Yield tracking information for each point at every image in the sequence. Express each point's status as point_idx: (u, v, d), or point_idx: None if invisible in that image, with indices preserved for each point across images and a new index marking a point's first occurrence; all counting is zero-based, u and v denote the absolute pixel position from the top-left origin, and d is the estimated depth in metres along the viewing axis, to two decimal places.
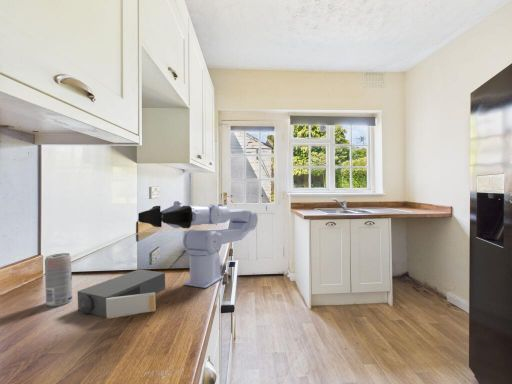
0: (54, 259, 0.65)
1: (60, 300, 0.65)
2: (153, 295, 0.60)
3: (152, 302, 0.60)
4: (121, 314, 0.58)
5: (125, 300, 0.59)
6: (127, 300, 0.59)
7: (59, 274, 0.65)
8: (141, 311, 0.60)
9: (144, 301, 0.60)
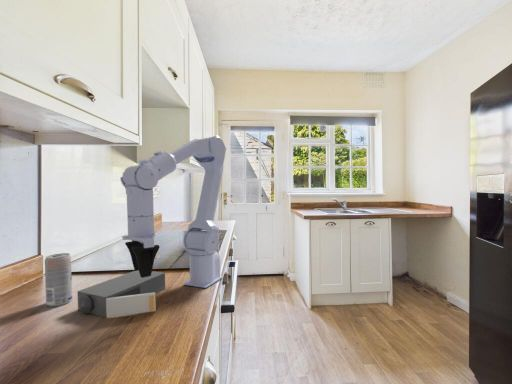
0: (54, 259, 0.65)
1: (60, 300, 0.65)
2: (153, 295, 0.60)
3: (152, 302, 0.60)
4: (121, 314, 0.58)
5: (125, 300, 0.59)
6: (127, 300, 0.59)
7: (59, 274, 0.65)
8: (141, 311, 0.60)
9: (144, 301, 0.60)
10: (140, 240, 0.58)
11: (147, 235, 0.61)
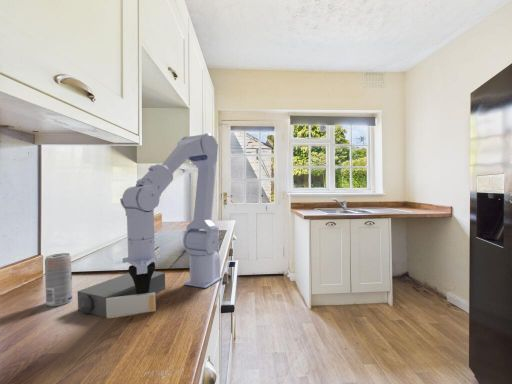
0: (54, 259, 0.65)
1: (60, 300, 0.65)
2: (153, 295, 0.60)
3: (152, 302, 0.60)
4: (121, 314, 0.58)
5: (125, 300, 0.59)
6: (127, 300, 0.59)
7: (59, 274, 0.65)
8: (141, 311, 0.60)
9: (144, 301, 0.60)
10: (135, 265, 0.56)
11: (145, 259, 0.59)
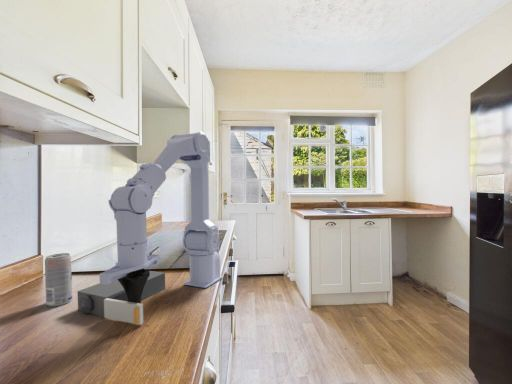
0: (54, 259, 0.65)
1: (60, 300, 0.65)
2: (138, 307, 0.54)
3: (136, 314, 0.54)
4: (114, 318, 0.57)
5: (117, 305, 0.56)
6: (118, 305, 0.56)
7: (59, 274, 0.65)
8: (129, 321, 0.55)
9: (131, 311, 0.55)
10: None
11: (125, 267, 0.53)
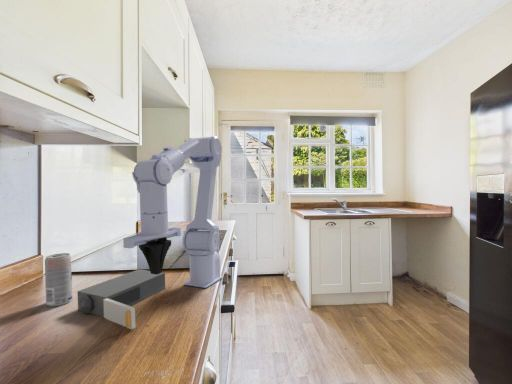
0: (54, 259, 0.65)
1: (60, 300, 0.65)
2: (130, 311, 0.53)
3: (127, 318, 0.52)
4: (111, 319, 0.56)
5: (113, 306, 0.56)
6: (114, 306, 0.56)
7: (59, 274, 0.65)
8: (123, 324, 0.54)
9: (124, 314, 0.54)
10: None
11: (146, 234, 0.57)
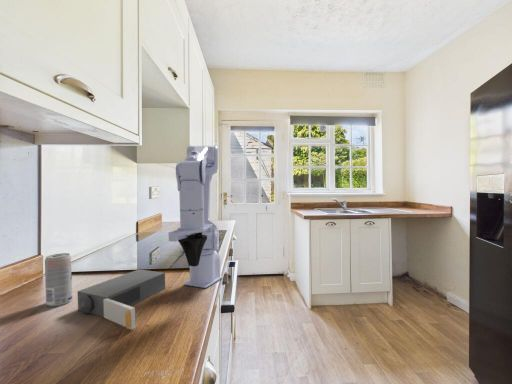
0: (54, 259, 0.65)
1: (60, 300, 0.65)
2: (130, 311, 0.53)
3: (127, 318, 0.52)
4: (111, 319, 0.56)
5: (113, 306, 0.56)
6: (114, 306, 0.56)
7: (59, 274, 0.65)
8: (123, 324, 0.54)
9: (124, 314, 0.54)
10: None
11: (187, 229, 0.62)
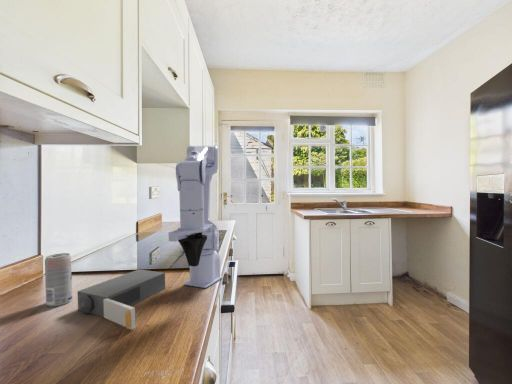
0: (54, 259, 0.65)
1: (60, 300, 0.65)
2: (130, 311, 0.53)
3: (127, 318, 0.52)
4: (111, 319, 0.56)
5: (113, 306, 0.56)
6: (114, 306, 0.56)
7: (59, 274, 0.65)
8: (123, 324, 0.54)
9: (124, 314, 0.54)
10: None
11: (187, 229, 0.62)
